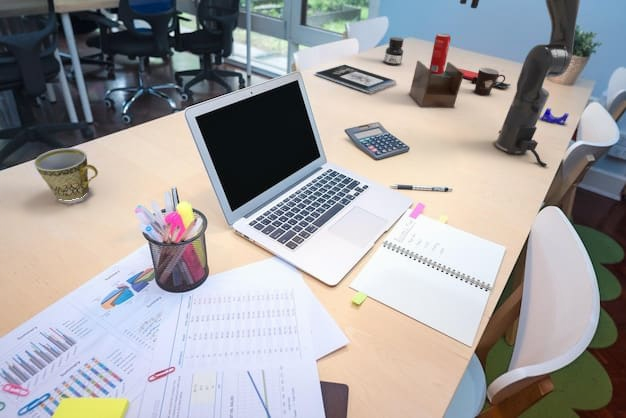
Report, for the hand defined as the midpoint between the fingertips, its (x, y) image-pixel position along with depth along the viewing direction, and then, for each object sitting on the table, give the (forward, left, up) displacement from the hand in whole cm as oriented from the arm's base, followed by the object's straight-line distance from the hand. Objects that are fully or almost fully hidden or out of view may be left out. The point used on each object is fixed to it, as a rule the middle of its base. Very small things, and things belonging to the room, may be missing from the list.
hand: (467, 5), depth 144 cm
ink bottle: (+49, +6, -36) cm, 61 cm away
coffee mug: (+8, -25, -36) cm, 44 cm away
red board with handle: (+27, -31, -36) cm, 55 cm away
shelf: (-2, +5, -36) cm, 36 cm away
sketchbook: (+21, +32, -36) cm, 53 cm away
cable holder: (-21, -39, -36) cm, 57 cm away
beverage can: (+1, +5, -26) cm, 26 cm away
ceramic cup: (-69, +120, -36) cm, 143 cm away
